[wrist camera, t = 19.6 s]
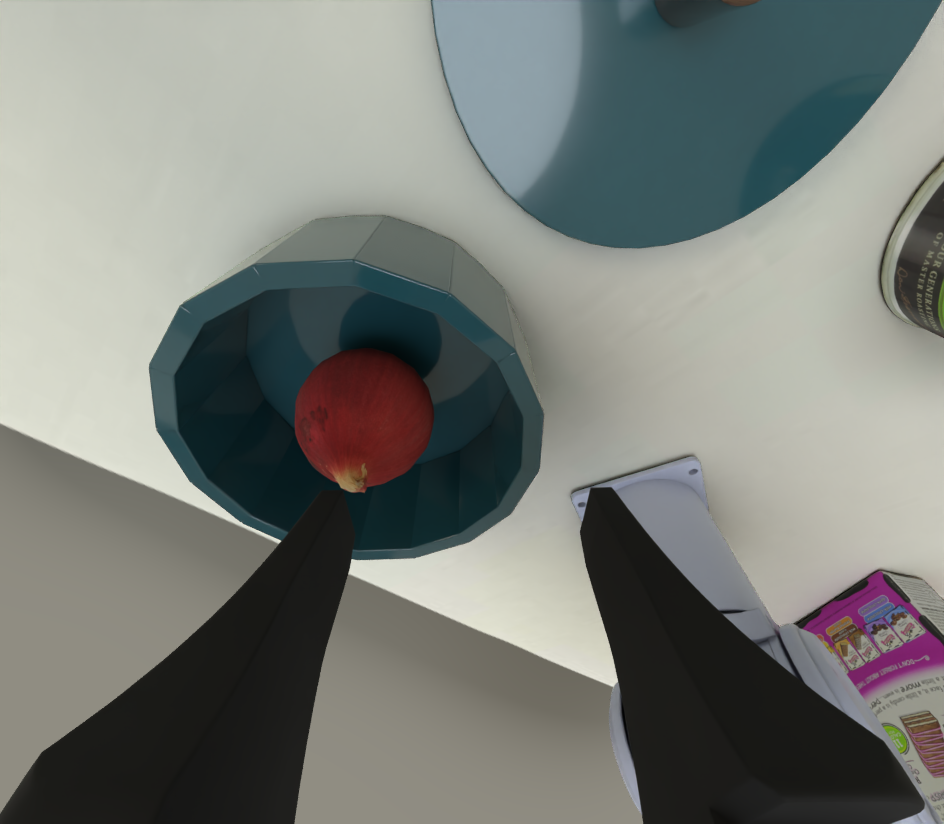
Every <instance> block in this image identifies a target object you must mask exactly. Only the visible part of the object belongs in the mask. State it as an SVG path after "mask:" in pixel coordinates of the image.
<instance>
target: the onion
mask: <svg viewBox="0 0 944 824" xmlns="http://www.w3.org/2000/svg"><path fill="white" fill-rule="evenodd" d="M433 423H434V407H433V403H432V399H431V396H430V392H429V388H428V387H427V385H426V384H425V383H424V381H423V380H422V378H421V377H420V376H419V374H418V373H417V372H416V370H415V369H414V368H413V367H411V366H410V365H408V364H407V363H405V362H404V361H402V360H401V359H399V358H398V357H396V356H395V355H393V354H391V353H387V352H384V351H380V350H377V349H373V348H362V349H352V350H346V351H341V352H339V353H337V354H335V355H333V356H331V357H330V358H328V359H326V360H324V361H322V362H321V363H320V364H319V365H318V366H317V367H316V368H315V369H314V370H313V371H312V372H311V374H310V375H309V377H308V378H307V379H306V381H305V382H304V384H303V385H302V387H301V388H300V390H299V393H298V396H297V399H296V405H295V434H296V437H297V440H298V443H299V445H300V447H301V449H302V450H303V452H304V454H305V455H306V457H307V459H308V461H309V462H310V464H311V465H312V466H313V467H314V468H315V469H316V470H317V471H318V472H320V473H321V474H323V475H324V476H326V477H327V478H329V479H330V480H332V481H333V482H336V483H339V485H340V487H341V488H342V489H344V490H346V491H349V492H353V493H356V492H365V491H366V489H367V487H370V486H375V485H380V484H384V483H386V482H388V481H390V480H392V479H394V478H396V477H398V476H400V475H402V474H404V473H406V472H407V471H408V470H409V469H410V468H411V467H412V466H413V465H414V463H415V462H416V461H417V459H418V458H419V457H420V456H421V454H422V453H423V452H424V450H425V449H426V448H427V446H428V443H429V440H430V437H431V433H432V428H433Z"/></svg>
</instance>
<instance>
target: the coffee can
mask: <svg viewBox="0 0 944 824" xmlns="http://www.w3.org/2000/svg"><path fill="white" fill-rule="evenodd" d="M881 284H882V289H883V295H884V298H885V301H886V303H887V305H888V306H889V308H890V309H891V310H892V312H893V313H894V314H895V315H897V316H898V317H899V318H900V319H902V320H903V321H905V322H907V323H909V324H911V325H913V326H916V327H920V328H924V329H926V330H928V331H930V332H932V333H935V334H937V335H939V336H941V337H943V338H944V161H943V162H942V163H941V164H940V165H939V166H938V167H937V168H936V170H935V171H934V172H933V173H932V174H931V175H930V176H929V178H928V179H927V180H926V181H925V182H924V183H923V185H922V186H921V187H920V188H919V190H918V191H917V192H916V194H915V196H914V197H913V199H912V200H911V202H910V203H909V205H908V206H907V208H906V209H905V211H904V213H903V214H902V216H901V218H900V219H899V221H898V223H897V225H896V227H895V229H894V231H893V234H892V236H891V238H890V241H889V243H888V246H887V249H886V252H885V256H884V259H883V265H882V272H881Z"/></svg>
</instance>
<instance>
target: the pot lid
mask: <svg viewBox="0 0 944 824" xmlns="http://www.w3.org/2000/svg"><path fill="white" fill-rule="evenodd" d="M941 2H942V0H431V6H432V14H433V23H434V31H435V37H436V42H437V46H438V51H439V55H440V60H441V64H442V69H443V73H444V77H445V80H446V83H447V86H448V89H449V92H450V95H451V98H452V101H453V104H454V107H455V110H456V113H457V115H458V117H459V119H460V122H461V124H462V126H463V128H464V130H465V132H466V135H467V137H468V139H469V141H470V143H471V145H472V146H473V148H474V150H475V151H476V153H477V155H478V156H479V158H480V159H481V161H482V163H483V164H484V166H485V168H486V169H487V171H488V172H489V173H490V174H491V175H492V177H493V178H494V179H495V180H496V182H497V183H498V184H499V185H500V187H501V188H502V189H503V190H504V192H505V193H506V194H507V195H509V196H510V197H511V198H512V199H513V200H514V201H515V202H516V203H517V204H518V205H519V206H520V207H521V208H522V209H523V210H524V211H526V212H527V213H529V214H530V215H532V216H533V217H534V218H536V219H537V220H539V221H540V222H542V223H543V224H544V225H546V226H548V227H550V228H552V229H554V230H556V231H558V232H560V233H562V234H564V235H566V236H568V237H571V238H574V239H577V240H581V241H584V242H587V243H590V244H595V245H601V246H607V247H613V248H647V247H656V246H665V245H669V244H673V243H678V242H682V241H686V240H690V239H693V238H696V237H699V236H701V235H704V234H707V233H710V232H712V231H715V230H718V229H720V228H722V227H724V226H726V225H728V224H730V223H732V222H734V221H736V220H738V219H740V218H742V217H744V216H746V215H748V214H750V213H751V212H753V211H754V210H756V209H758V208H759V207H761V206H762V205H764V204H766V203H767V202H769V201H770V200H772V199H774V198H775V197H776V196H778V195H779V194H780V193H782V192H783V191H784V190H786V189H787V188H788V187H790V186H791V185H792V184H794V183H795V182H796V181H798V180H799V179H800V178H802V177H803V176H804V175H805V174H806V173H807V172H808V171H809V170H811V169H812V168H813V167H814V166H815V165H816V164H817V163H818V162H819V161H821V160H822V159H823V158H824V157H825V156H826V155H827V154H828V153H830V151H831V150H832V149H833V148H834V147H835V146H836V145H837V144H838V143H839V142H840V141H841V140H842V139H843V138H844V137H845V136H846V135H847V134H848V133H849V132H850V130H851V129H852V128H853V127H854V126H855V125H856V124H857V123H858V122H859V121H860V120H861V118H862V117H863V116H864V115H865V113H866V112H867V111H868V110H869V109H870V107H871V106H872V105H873V104H874V102H875V101H876V100H877V99H878V98H879V96H880V95H881V94H882V93H883V91H884V90H885V89H886V88H887V86H888V85H889V83H890V82H891V80H892V79H893V78H894V76H895V75H896V73H897V72H898V70H899V69H900V68H901V66H902V65H903V63H904V62H905V61H906V59H907V58H908V56H909V55H910V53H911V52H912V51H913V49H914V47H915V46H916V44H917V42H918V41H919V39H920V37H921V36H922V34H923V32H924V31H925V29H926V27H927V26H928V24H929V22H930V21H931V19H932V17H933V16H934V14H935V12H936V11H937V9H938V7H939V5H940V4H941Z"/></svg>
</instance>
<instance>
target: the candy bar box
mask: <svg viewBox="0 0 944 824" xmlns="http://www.w3.org/2000/svg"><path fill="white" fill-rule="evenodd" d="M796 626H798V627H799V628H800V629H803V630H806V631H808V632H811V633H813V634H815V635H816V636H817V637H818V638H819V640H820V641H821V642H822V643H823V644H824V645H825V647H826V648H827V649H828V650H829V652H830V653H831V654H832V656H833V657H834V658H835V659H836V661H837V662H838V663H839V665H840V666H841V668H842V669H843V670H844V672H845V673H846V674H847V676H848V677H849V678H850V680H851V681H852V683H853V684H854V685H855V687H856V688H857V690H858V691H859V693H860V694H861V695H862V697H863V698H864V700H865V701H866V703H867V704H868V706H869V707H870V708H871V710H872V711H873V713H874V714H875V716H876V717H877V719H878V720H879V722H880V723H881V725H882V726H883V728H884V729H885V731H886V732H887V734H888V735H889V737H890V738H891V740H892V741H893V743H894V744H895V746H896V748H897V749H898V751H899V752H900V754H901V755H902V757H903V759H904V760H905V762H906V764H907V765H908V767H909V768H910V770H911V772H912V774H913V775H914V777H915V779H916V781H917V783H918V784H919V786H920V788H921V790H922V791H923V793H924V794H925V796H926V797H927V799H928V800H929V801H930V803H931V804H932V806H933V807H934V809H935V810H936V812H937V813H938V815H939V817H940V818H941V820H942V822H943V823H944V600H943V599H942V598H941V597H940V596H939V595H938V594H937V593H936V592H935V591H934V590H933V589H932V588H931V587H930V586H929V585H928V584H927V583H926V582H925V581H924V580H923V579H920V578H917V577H913V576H907V575H900V574H895V573H891V572H885V571H878V572H876V573H874V574H872V575H871V576H870V577H868V578H866V579H865V580H863V581H862V582H860V583H859V584H857V585H856V586H854V587H853V588H851V589H850V590H848V591H847V592H845V593H843V594H842V595H841V596H839V597H838V598H836V599H835V600H833V601H832V602H830V603H829V604H827V605H826V606H824V607H823V608H821V609H820V610H818V611H817V612H815V613H814V614H812V615H811V616H809V617H808V618H806V619H805V620H803V621H802V622H800V623H799V624H797V625H796Z"/></svg>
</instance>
